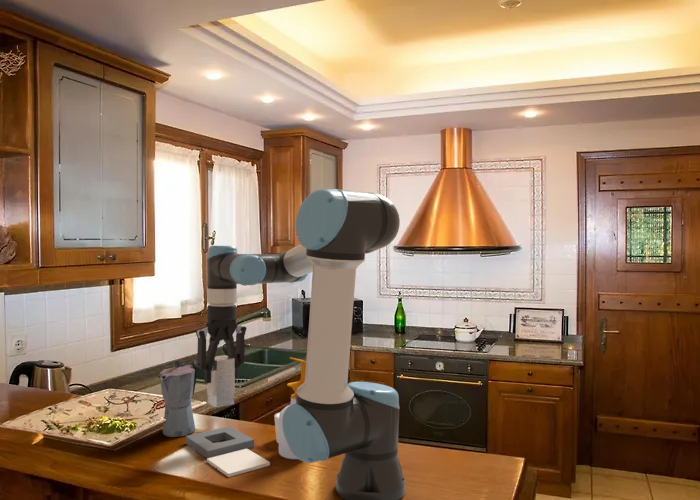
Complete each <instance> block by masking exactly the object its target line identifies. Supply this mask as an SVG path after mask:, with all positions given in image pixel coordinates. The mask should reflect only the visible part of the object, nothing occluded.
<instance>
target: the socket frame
mask: <svg viewBox="0 0 700 500" xmlns="http://www.w3.org/2000/svg"><path fill="white" fill-rule="evenodd" d="M223 440H225V441H223ZM219 441H221V442H219ZM215 442H216V443H215ZM185 444H186V445H187V446H189V447H190V448H191V449H192V450H194V451H196V452H197V453H198V454H200V455H201V456H203V457H204V458H206V460H207V459H208V458H212V457H215V456H219V455H223V454H227V453H231V452H235V451H239V450H243V449H249V450H250V449H252V448H254V447H255V439H254V438H253V437H251V436H248V435H247V434H244V433H243V432H241V431H240V430H238V429H236V428H234V427H233V426H225V427H220V428H216V429H211V430H207V431H203V432H198V433H193V434H188V435H185Z"/></svg>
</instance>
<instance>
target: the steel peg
mask: <svg viewBox="0 0 700 500" xmlns="http://www.w3.org/2000/svg"><path fill="white" fill-rule="evenodd" d="M234 366H235V358H232V357H229V356H228V355H225V354H224V355H218V356H216V355H215V359H214V363H213V367H212V370H214V371H215V396H210V395H208V394H207V404H208V405H211V406H212V407H215V408H222V407H227V406H231V405H235V392H234Z"/></svg>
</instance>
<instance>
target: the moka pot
mask: <svg viewBox="0 0 700 500" xmlns="http://www.w3.org/2000/svg"><path fill="white" fill-rule="evenodd" d="M180 363H181V362H180V361H178V360H176V361H174V362H173V364H174V366H173V367H169V368H165V369H163V370H162V371H160V372H159V374H158V376H159V382H160V388H161V394H162V395H161V396H162V399H163V400H164V406H165V407H164V417H163V420H164V419H166V423H165V424H164V423H163V425H164V427H163V428H162V434H163V436H166V437H171V438H176V437H177V438H178V437H180V438H181V437H184V436H185V437H186V436H188V435H192V433H194V432H195V431H196V424H195V419H194V413H193V407H192V397H193V396H194V394H195V391H196V390H195V388H196V384H197V383H196V382H197V376H198V370H199V368H198V367H197V365H196V364H195V363H194V362H191V363H190V364H186V365H184V366H180Z"/></svg>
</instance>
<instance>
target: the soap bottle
mask: <svg viewBox="0 0 700 500" xmlns="http://www.w3.org/2000/svg"><path fill="white" fill-rule="evenodd" d="M289 359H290V360H292V361H296V362H299V363H300V379H299V380H298V381H294V382H289V383H287V384H286V386H287V387H289V388H292V389H291V390H293V391H294V393H293V394H292V393H291V396H290V403H289V404H288V405H286V406H285V407H284V408H283V409H282V410H281V411H280V415H279V443H278V454H279V456H280V457H282V458H285V459H289V460H299V459H298V458H297V457H296V456H295V455H294V454H293V452H292V451H291V450H290V448H289V446H288V444H287V442H286V439H285V436H284V432H283V426H282V419H283V414H284V411H285V410H286V409H287V407H289V406H290V405H293V404H296V394H297V389H298V388H299V387H300V386H301V385H302V384H303V383H304V382H305V373H306V360H303V359H299V358H295V357H291V356H289Z"/></svg>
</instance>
